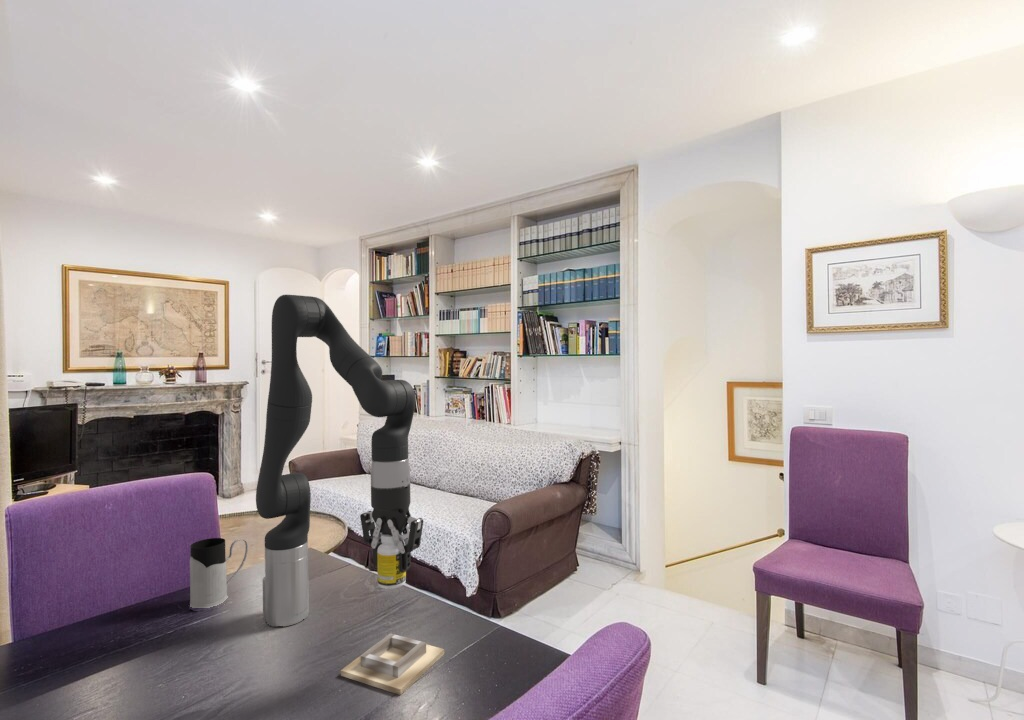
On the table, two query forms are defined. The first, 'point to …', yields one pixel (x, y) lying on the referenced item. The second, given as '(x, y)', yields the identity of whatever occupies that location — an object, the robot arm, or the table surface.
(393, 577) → the supplement bottle
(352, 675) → the socket stand
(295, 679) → the table surface
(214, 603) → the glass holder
